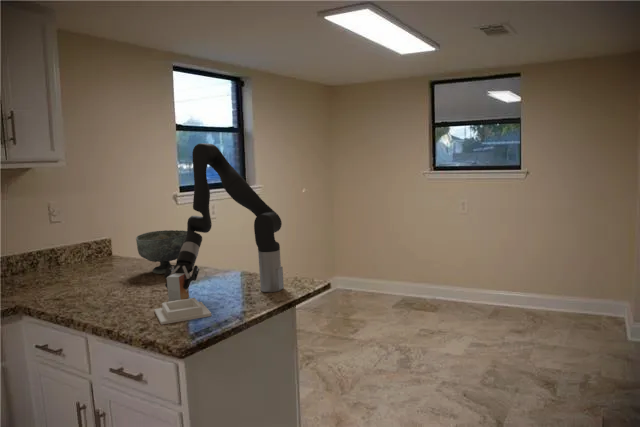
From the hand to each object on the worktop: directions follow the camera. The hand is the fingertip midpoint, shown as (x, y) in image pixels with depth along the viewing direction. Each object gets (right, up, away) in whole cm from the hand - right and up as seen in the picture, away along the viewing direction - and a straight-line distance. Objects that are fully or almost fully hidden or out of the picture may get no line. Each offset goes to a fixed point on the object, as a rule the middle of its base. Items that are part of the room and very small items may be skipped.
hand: (176, 288), depth 218 cm
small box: (+1, -5, +2) cm, 6 cm away
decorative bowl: (-21, 0, +58) cm, 61 cm away
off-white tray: (+7, -7, -19) cm, 21 cm away
